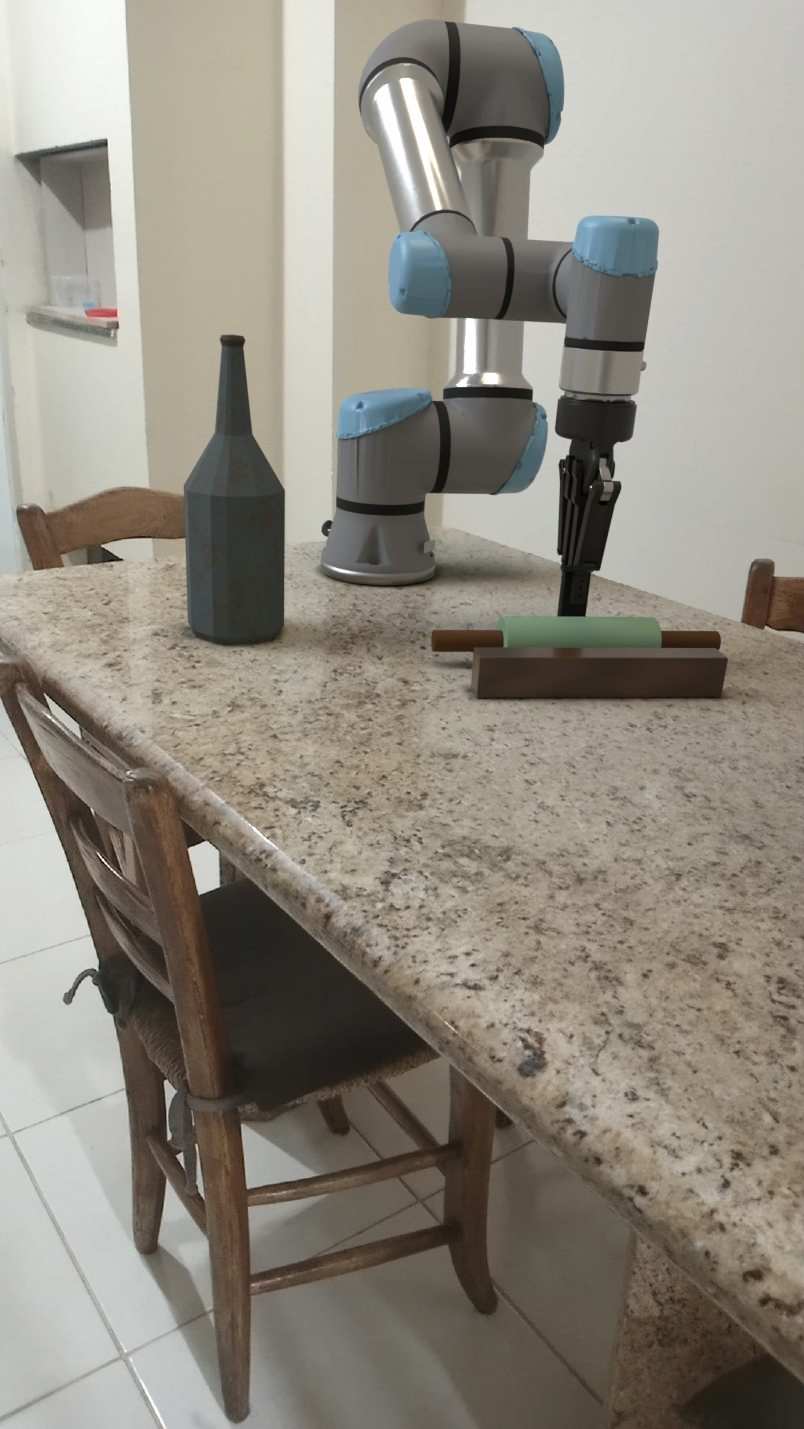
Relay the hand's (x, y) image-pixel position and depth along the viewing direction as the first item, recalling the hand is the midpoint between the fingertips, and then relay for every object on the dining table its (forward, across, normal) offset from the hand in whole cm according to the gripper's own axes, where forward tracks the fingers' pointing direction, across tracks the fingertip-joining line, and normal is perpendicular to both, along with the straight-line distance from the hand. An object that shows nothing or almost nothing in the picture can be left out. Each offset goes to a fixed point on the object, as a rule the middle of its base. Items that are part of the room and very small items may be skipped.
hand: (569, 629), depth 107 cm
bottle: (+3, +7, +35) cm, 36 cm away
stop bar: (+2, -11, 0) cm, 11 cm away
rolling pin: (-2, -4, 0) cm, 5 cm away
